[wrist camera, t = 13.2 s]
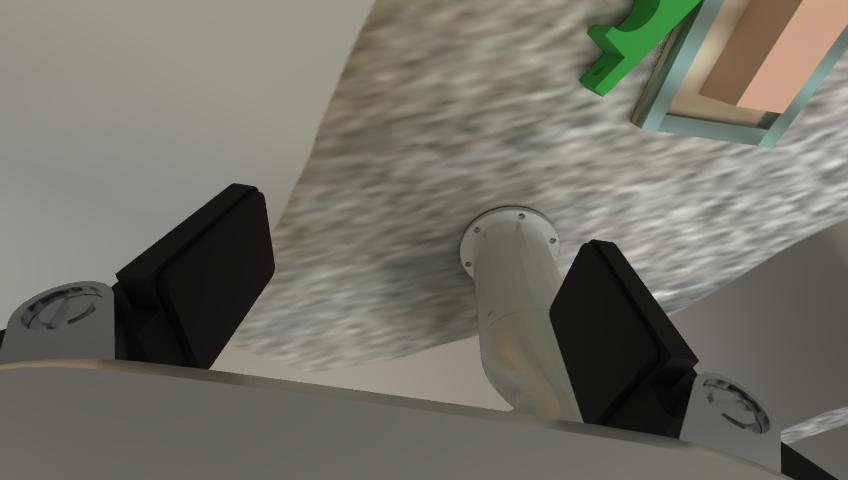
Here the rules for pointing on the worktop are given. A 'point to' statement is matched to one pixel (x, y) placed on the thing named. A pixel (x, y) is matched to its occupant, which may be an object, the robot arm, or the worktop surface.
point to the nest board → (688, 70)
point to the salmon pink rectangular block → (774, 52)
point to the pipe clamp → (632, 40)
